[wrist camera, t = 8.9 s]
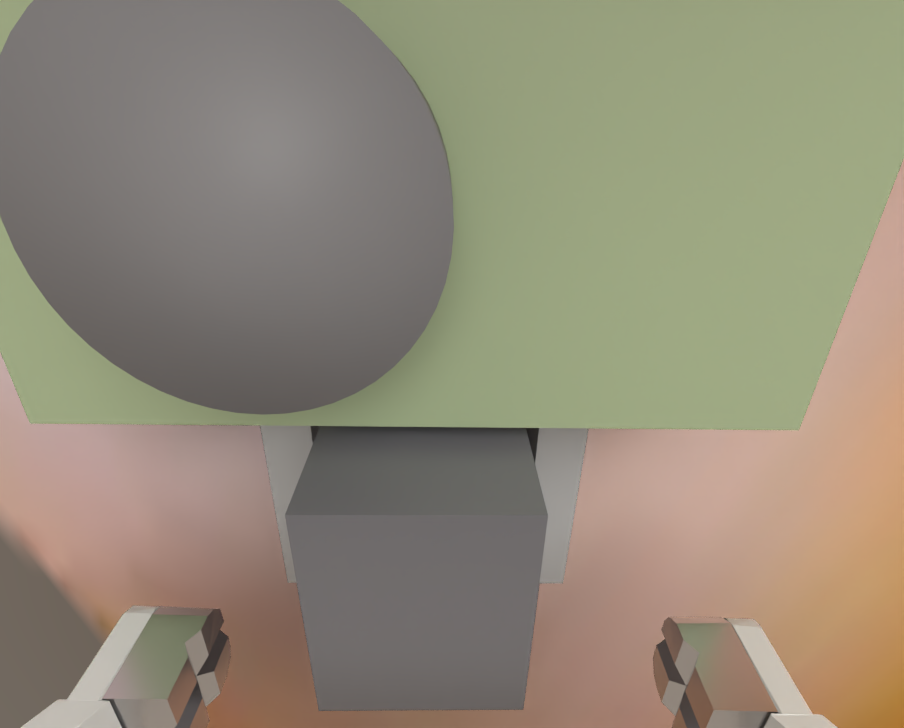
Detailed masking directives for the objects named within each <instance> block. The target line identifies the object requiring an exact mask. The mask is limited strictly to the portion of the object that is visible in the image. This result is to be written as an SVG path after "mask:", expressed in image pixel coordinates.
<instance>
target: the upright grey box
mask: <svg viewBox="0 0 904 728" xmlns="http://www.w3.org/2000/svg"><path fill="white" fill-rule="evenodd" d="M285 519H286V525H287V531H288V536H289V542H290V548H291V554H292V559H293V565H294V571H295V577H296V582H297V588H298V594H299V600H300V605H301V611H302V617H303V623H304V628H305V634H306V640H307V646H308V652H309V657H310V663H311V669H312V675H313V680H314V686H315V692H316V698H317V703H318V709H319V711H367V710H523V708H524V700H525V693H526V685H527V677H528V669H529V661H530V653H531V646H532V638H533V630H534V622H535V614H536V606H537V599H538V591H539V583H540V575H541V567H542V560H543V552H544V544H545V536H546V528H547V520H548V513H547V509H546V505H545V501H544V497H543V493H542V489H541V486H540V482H539V478H538V474H537V470H536V466H535V462H534V458H533V454H532V450H531V446H530V442H529V439H528V435H527V431H526V428H490V427H377V426H320V427H319V430H318V432H317V435H316V437H315V440H314V442H313V445H312V447H311V450H310V453H309V455H308V458H307V460H306V463H305V465H304V468H303V470H302V473H301V475H300V478H299V480H298V483H297V486H296V488H295V491H294V493H293V496H292V498H291V501H290V503H289V506H288V508H287V511H286V513H285Z"/></svg>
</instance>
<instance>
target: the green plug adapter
mask: <svg viewBox="0 0 904 728" xmlns="http://www.w3.org/2000/svg"><path fill="white" fill-rule="evenodd" d="M903 159H904V0H0V352H1V355H2V357H3V359H4V362H5V364H6V367H7V369H8V372H9V374H10V376H11V379H12V381H13V384H14V386H15V388H16V391H17V393H18V396H19V398H20V400H21V403H22V405H23V408H24V410H25V412H26V415H27V417H28V420H29V422H30V423H37V424H151V425H260V428H261V434H262V440H263V445H264V451H265V457H266V462H267V468H268V473H269V479H270V485H271V490H272V496H273V502H274V507H275V513H276V519H277V524H278V530H279V536H280V541H281V547H282V553H283V558H284V564H285V569H286V575H287V581H288V583H297V582H296V577H295V571H294V565H293V559H292V554H291V548H290V542H289V536H288V531H287V525H286V519H285V513H286V511H287V508H288V506H289V503H290V501H291V498H292V496H293V493H294V491H295V488H296V486H297V483H298V480H299V478H300V475H301V473H302V470H303V468H304V465H305V463H306V460H307V458H308V455H309V453H310V450H311V447H312V445H313V442H314V440H315V437H316V435H317V432H318V430H319V427H320V426H377V427H490V428H526V431H527V435H528V439H529V442H530V446H531V450H532V454H533V458H534V462H535V466H536V470H537V474H538V478H539V482H540V486H541V489H542V493H543V497H544V501H545V505H546V509H547V513H548V520H547V528H546V536H545V544H544V552H543V560H542V567H541V575H540V583H563V580H564V574H565V568H566V562H567V556H568V550H569V544H570V537H571V531H572V525H573V519H574V513H575V507H576V501H577V495H578V489H579V483H580V477H581V471H582V465H583V459H584V453H585V447H586V441H587V434H588V428H603V429H716V430H799V429H800V426H801V423H802V421H803V418H804V416H805V413H806V410H807V408H808V405H809V403H810V400H811V398H812V395H813V392H814V390H815V387H816V385H817V382H818V379H819V377H820V374H821V372H822V369H823V366H824V364H825V361H826V359H827V356H828V353H829V351H830V348H831V346H832V343H833V340H834V338H835V335H836V333H837V330H838V327H839V325H840V322H841V320H842V317H843V314H844V312H845V309H846V307H847V304H848V301H849V299H850V296H851V294H852V291H853V289H854V286H855V283H856V281H857V278H858V276H859V273H860V270H861V268H862V265H863V263H864V260H865V257H866V255H867V252H868V250H869V247H870V244H871V242H872V239H873V237H874V234H875V231H876V229H877V226H878V224H879V221H880V218H881V216H882V213H883V211H884V208H885V205H886V203H887V200H888V198H889V195H890V192H891V190H892V187H893V185H894V182H895V180H896V177H897V174H898V172H899V169H900V167H901V164H902V161H903Z"/></svg>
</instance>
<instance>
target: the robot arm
mask: <svg viewBox="0 0 904 728" xmlns="http://www.w3.org/2000/svg"><path fill="white" fill-rule="evenodd" d="M223 622H224V620H223V617H222V614H221V611H220V609H213V608H188V607H163V606H132V607H131V608H130V609H128V610H127V611H126V612H125V613H124V614H123V615H122V616H121V618H120V619H119V621H118V622H117V624H116V625H115V627H114V628H113V630H112V631H111V633H110V635H109V636H108V638H107V639H106V641H105V642H104V644H103V645H102V647H101V648H100V650H99V651H98V653H97V654H96V656H95V657H94V659H93V660H92V662H91V664H90V665H89V666H88V668H87V670H86V671H85V673H84V674H83V676H82V677H81V679H80V680H79V682H78V683H77V685H76V687H75V688H74V689H73V691H72V692H71V694H70V696H69V697H68V698H67V699H58V700H57V701H55V702H54V703H53V704H51V705H50V706H49V707H47V708H46V709H44V710H43V711H42V712H40V713H39V714H38V715H37V716H35V717H34V718H32V719H31V720H30V721H28V722H27V723H26V724H24V725H23V726H22V727H21V728H207V726H208V723H209V721H210V720H209V716H208V712H207V708H206V706H207V705H208V704H210V703H211V702H212V701H213V700H214V699H215V698H216V697H217V696H218V695H219V694H220V693H221V691H222V688H223V685H224V683H225V680H226V677H227V673H228V669H229V664H230V659H231V646H230V642H229V638H228V636H227V635H225V634H224V633H223V632H222V631H220V628H221V626H222V624H223ZM662 632H663V635H664V638H665V640H663V641H662V642H661V643H659V644H658V645H656V649H655V653H654V657H653V666H654V677H655V682H656V686H657V690H658V693H659V696H660V699H661V702H662V703H663V704H664V705H665V706H666V707H667V708H668V709H669V710H670V711H671V712H672V713H673V714H674V715H675V718H674V721H673V725H672V728H838V727H836V726H835V725H834V724H833V723H831V722H830V721H829V720H828V719H827V718H825V717H824V716H823V715H821V714H813V713H812V712H811V710H810V708H809V707H808V705H807V703H806V702H805V700H804V698H803V697H802V695H801V693H800V692H799V690H798V688H797V687H796V685H795V683H794V682H793V680H792V678H791V676H790V675H789V673H788V671H787V670H786V668H785V666H784V665H783V663H782V661H781V660H780V658H779V656H778V655H777V653H776V651H775V650H774V648H773V646H772V645H771V643H770V641H769V640H768V638H767V636H766V634H765V633H764V631H763V629H762V628H761V626H760V624H758V623H757V622H756V621H755V620H754V619H750V618H722V617H668V618H667V619H666V620H665V621H664V624H663V627H662Z"/></svg>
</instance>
